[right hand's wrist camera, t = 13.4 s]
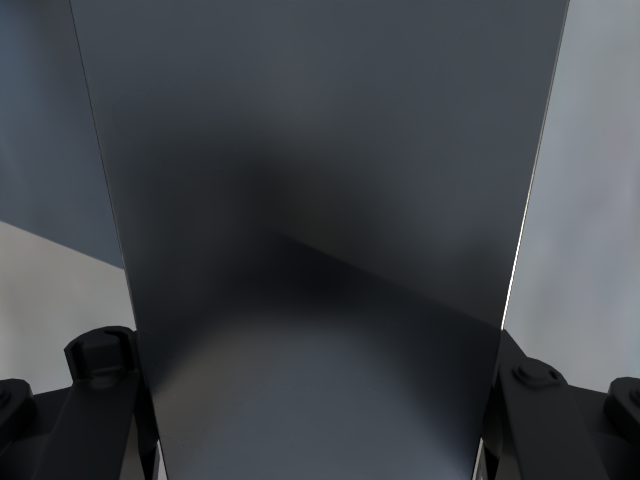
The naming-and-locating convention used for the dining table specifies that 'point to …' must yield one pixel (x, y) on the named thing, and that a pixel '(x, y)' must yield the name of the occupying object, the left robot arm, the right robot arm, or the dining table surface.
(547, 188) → the dining table surface
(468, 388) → the bar
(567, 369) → the dining table surface
